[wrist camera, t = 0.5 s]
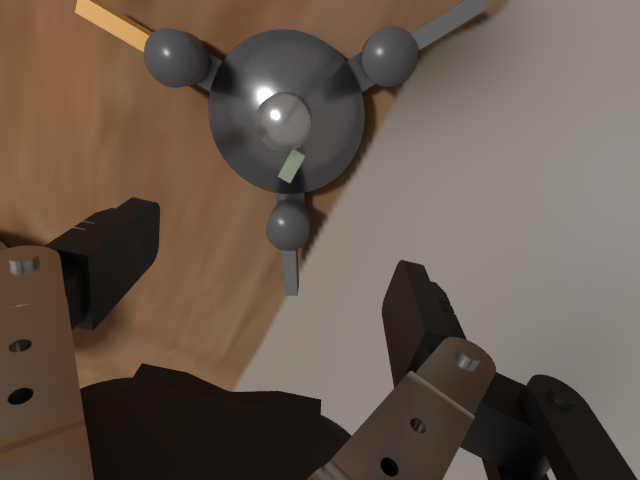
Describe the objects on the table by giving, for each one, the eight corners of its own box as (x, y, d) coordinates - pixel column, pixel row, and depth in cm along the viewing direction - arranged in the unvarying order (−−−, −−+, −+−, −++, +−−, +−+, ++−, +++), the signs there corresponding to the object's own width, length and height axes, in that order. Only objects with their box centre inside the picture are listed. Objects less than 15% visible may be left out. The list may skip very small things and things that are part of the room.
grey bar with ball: (374, 94, 34) (378, 97, 31) (352, 47, 32) (353, 46, 29) (481, 30, 31) (495, 27, 28) (462, -24, 30) (476, -33, 27)
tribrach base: (224, -75, 30) (208, -94, 26) (414, 54, 33) (423, 53, 30) (144, 152, 38) (125, 161, 35) (302, 235, 42) (299, 251, 38)
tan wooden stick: (216, 48, 33) (204, 47, 30) (198, 94, 34) (186, 97, 32) (104, -19, 31) (81, -27, 28) (91, 33, 33) (68, 30, 30)
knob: (269, 200, 39) (264, 211, 36) (310, 200, 39) (308, 211, 36) (275, 281, 43) (271, 296, 41) (312, 281, 43) (310, 297, 40)
